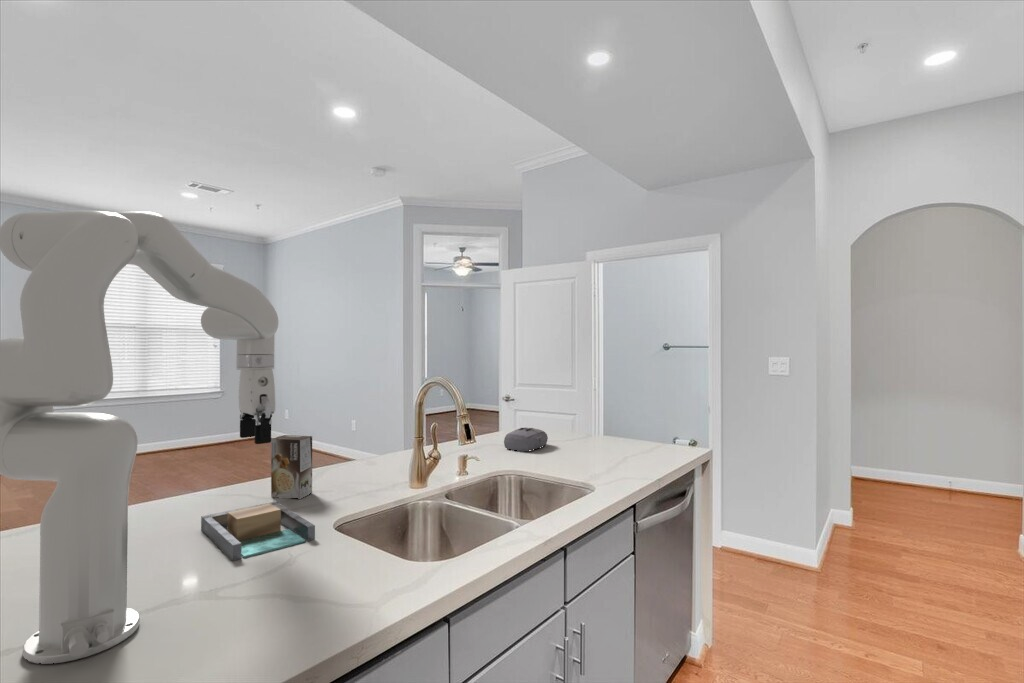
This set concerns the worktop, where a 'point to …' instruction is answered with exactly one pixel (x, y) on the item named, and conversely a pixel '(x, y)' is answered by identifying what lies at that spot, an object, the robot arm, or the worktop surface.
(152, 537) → the worktop surface
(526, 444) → the grey rounded bag
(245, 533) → the tan cardboard box
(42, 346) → the robot arm
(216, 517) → the bay
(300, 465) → the coffee box
